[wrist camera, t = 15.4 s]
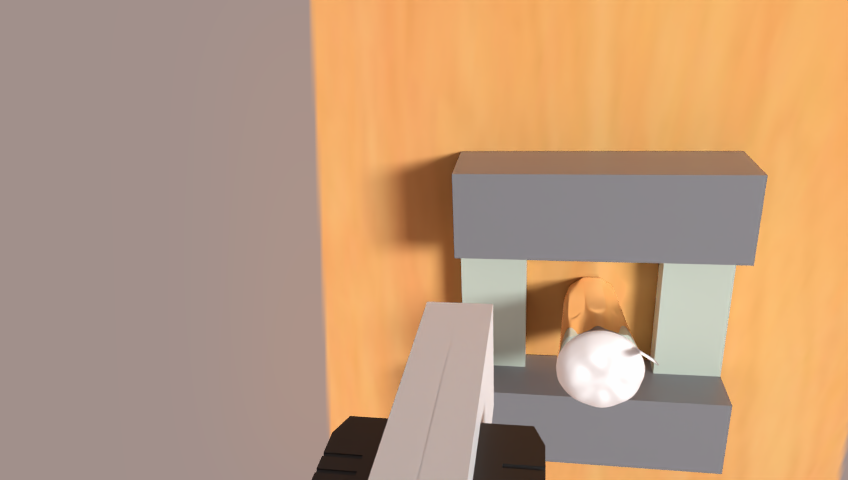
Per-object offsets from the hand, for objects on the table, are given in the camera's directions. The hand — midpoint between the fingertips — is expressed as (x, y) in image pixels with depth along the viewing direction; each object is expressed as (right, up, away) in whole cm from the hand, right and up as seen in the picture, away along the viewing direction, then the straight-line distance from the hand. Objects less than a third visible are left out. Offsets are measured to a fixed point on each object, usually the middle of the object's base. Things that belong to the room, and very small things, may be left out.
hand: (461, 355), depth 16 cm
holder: (+10, -1, +28) cm, 29 cm away
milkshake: (+10, -1, +28) cm, 30 cm away
